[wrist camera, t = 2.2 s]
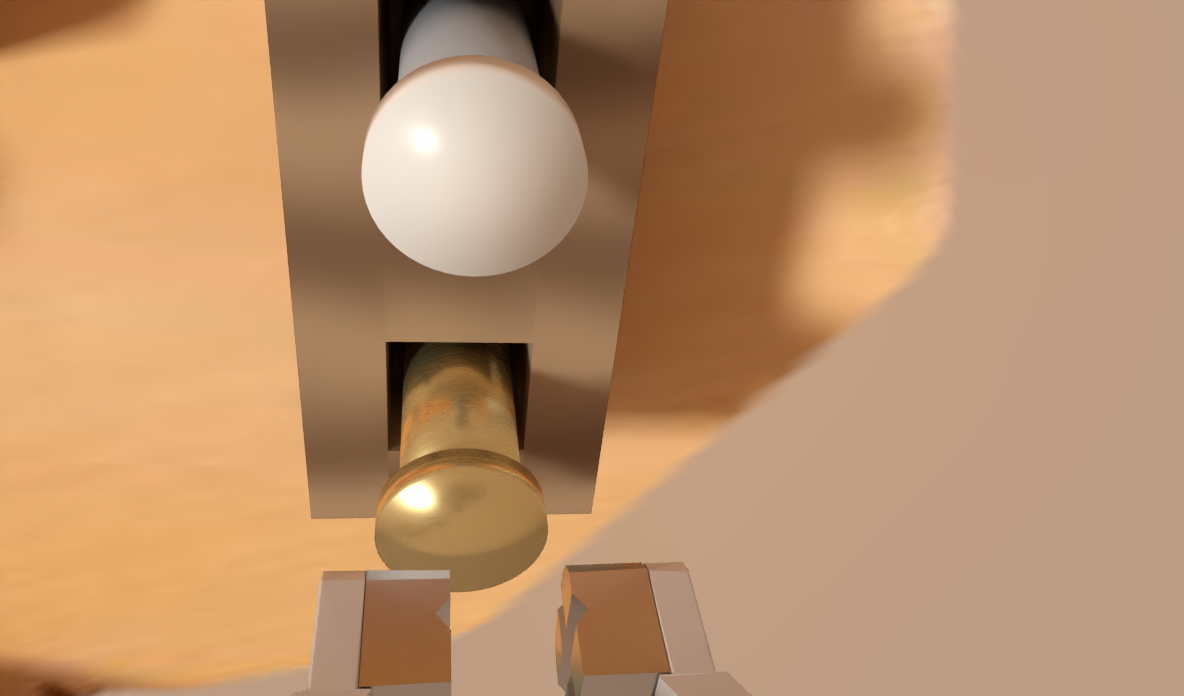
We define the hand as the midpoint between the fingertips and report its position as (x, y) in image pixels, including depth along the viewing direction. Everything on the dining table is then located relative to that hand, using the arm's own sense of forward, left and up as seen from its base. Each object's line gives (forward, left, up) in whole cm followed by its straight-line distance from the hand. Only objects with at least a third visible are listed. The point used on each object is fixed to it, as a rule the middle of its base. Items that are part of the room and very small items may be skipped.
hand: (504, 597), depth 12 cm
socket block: (-5, 0, -25) cm, 26 cm away
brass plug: (-11, 0, -21) cm, 24 cm away
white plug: (0, 0, -21) cm, 21 cm away
